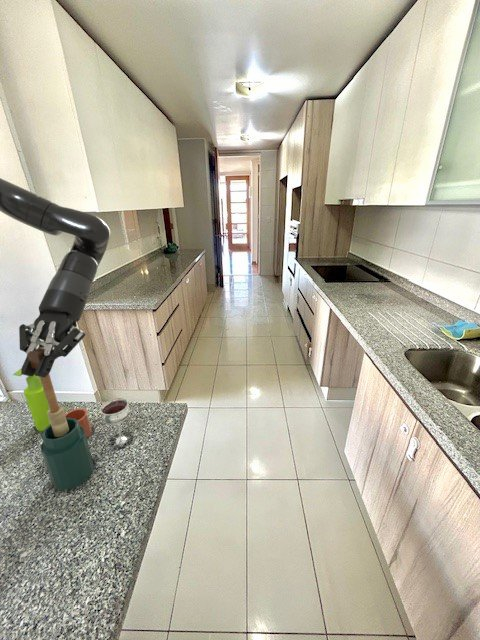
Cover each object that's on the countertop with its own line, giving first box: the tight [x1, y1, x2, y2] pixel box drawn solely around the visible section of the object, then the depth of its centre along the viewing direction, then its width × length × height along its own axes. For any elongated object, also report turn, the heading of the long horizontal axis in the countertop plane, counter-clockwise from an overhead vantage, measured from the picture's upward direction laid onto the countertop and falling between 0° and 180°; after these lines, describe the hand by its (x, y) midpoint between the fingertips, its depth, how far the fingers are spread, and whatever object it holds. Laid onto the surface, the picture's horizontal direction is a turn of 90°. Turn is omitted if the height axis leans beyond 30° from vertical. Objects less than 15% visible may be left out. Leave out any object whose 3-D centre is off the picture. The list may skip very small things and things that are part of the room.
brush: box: [26, 348, 69, 437], centre depth 53 cm, size 3×3×20 cm
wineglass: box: [99, 397, 131, 445], centre depth 69 cm, size 7×7×12 cm
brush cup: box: [65, 408, 93, 439], centre depth 71 cm, size 6×6×7 cm
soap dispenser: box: [12, 368, 50, 432], centre depth 72 cm, size 6×7×20 cm
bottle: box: [40, 418, 94, 491], centre depth 59 cm, size 8×8×14 cm
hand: (33, 375), depth 49 cm, fingers closed on brush, 2 cm apart
